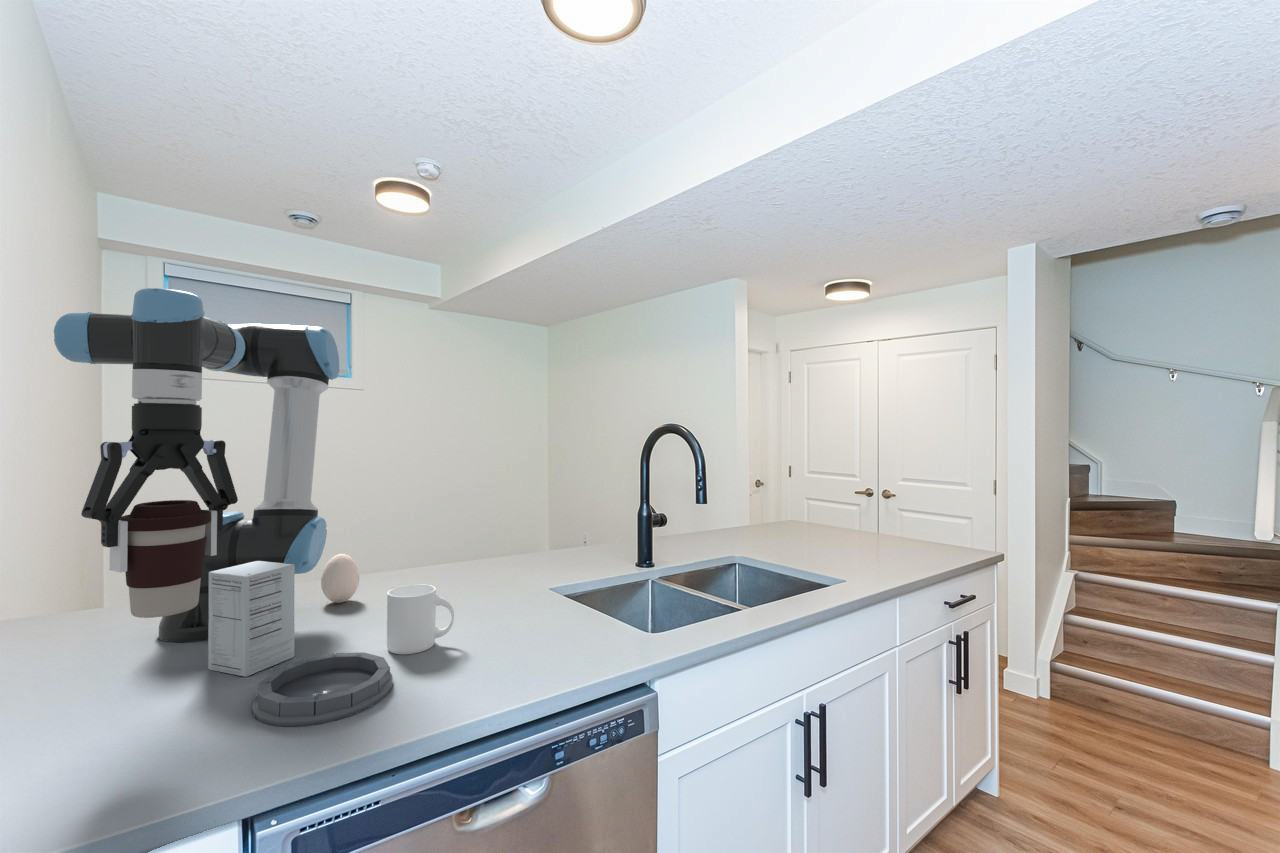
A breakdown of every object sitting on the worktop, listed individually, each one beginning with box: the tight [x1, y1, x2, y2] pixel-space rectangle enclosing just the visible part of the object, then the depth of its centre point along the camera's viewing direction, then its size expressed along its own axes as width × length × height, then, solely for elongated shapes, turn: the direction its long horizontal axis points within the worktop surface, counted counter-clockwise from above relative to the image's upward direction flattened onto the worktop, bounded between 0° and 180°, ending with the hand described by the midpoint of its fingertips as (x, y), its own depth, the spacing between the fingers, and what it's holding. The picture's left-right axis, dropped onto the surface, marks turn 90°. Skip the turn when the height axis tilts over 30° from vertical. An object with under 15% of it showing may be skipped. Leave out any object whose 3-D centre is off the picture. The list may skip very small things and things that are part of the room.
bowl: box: [251, 652, 393, 728], centre depth 89 cm, size 19×19×3 cm
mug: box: [386, 583, 455, 656], centre depth 109 cm, size 9×12×11 cm
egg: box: [320, 553, 360, 604], centre depth 134 cm, size 8×8×11 cm
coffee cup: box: [120, 499, 211, 619], centre depth 79 cm, size 10×10×15 cm
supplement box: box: [207, 561, 295, 678], centre depth 100 cm, size 10×9×17 cm
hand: (166, 562), depth 79 cm, fingers closed on coffee cup, 10 cm apart
